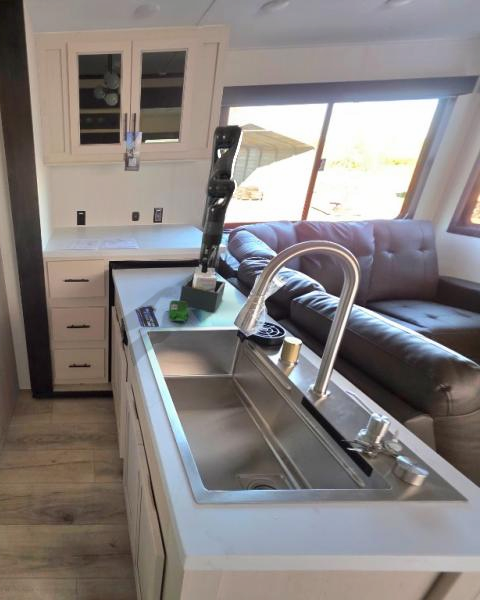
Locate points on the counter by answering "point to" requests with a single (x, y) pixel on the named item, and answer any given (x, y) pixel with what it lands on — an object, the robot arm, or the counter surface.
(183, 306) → the snack package
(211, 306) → the waste bin
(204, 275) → the ink cartridge box
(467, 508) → the counter surface
